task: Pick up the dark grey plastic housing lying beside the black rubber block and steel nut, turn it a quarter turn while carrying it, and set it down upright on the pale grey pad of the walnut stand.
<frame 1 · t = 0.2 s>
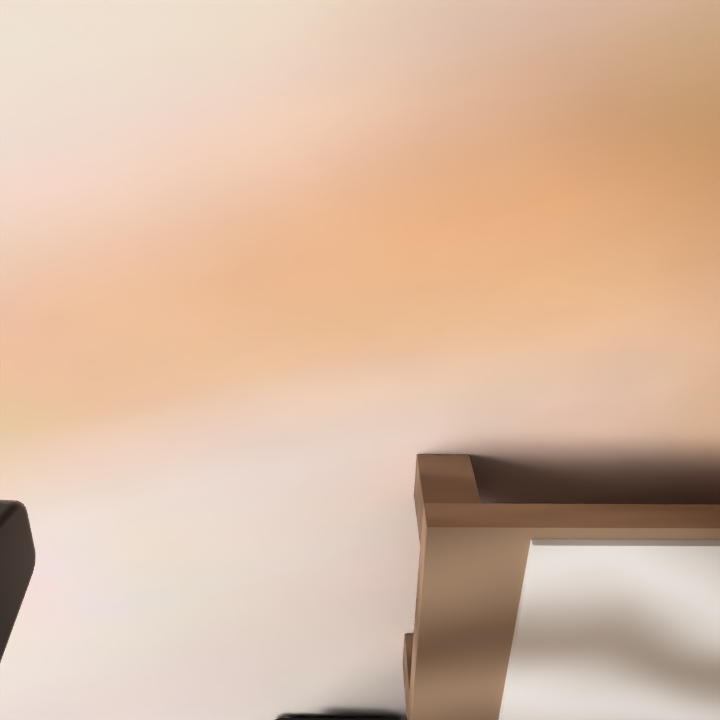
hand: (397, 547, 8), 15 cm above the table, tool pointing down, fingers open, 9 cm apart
walnut stand: (596, 570, 28), on the table
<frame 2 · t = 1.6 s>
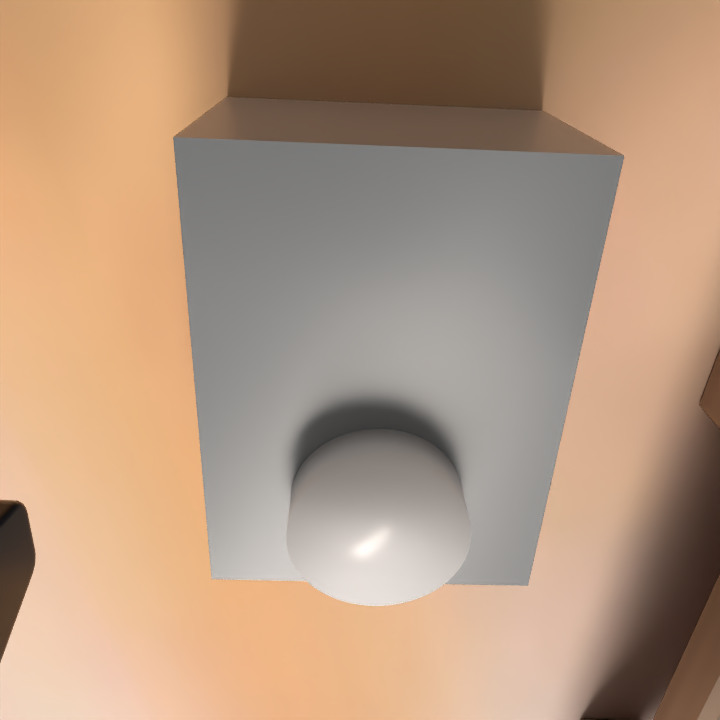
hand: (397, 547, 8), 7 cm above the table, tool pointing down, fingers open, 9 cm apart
housing: (374, 295, 15), on the table
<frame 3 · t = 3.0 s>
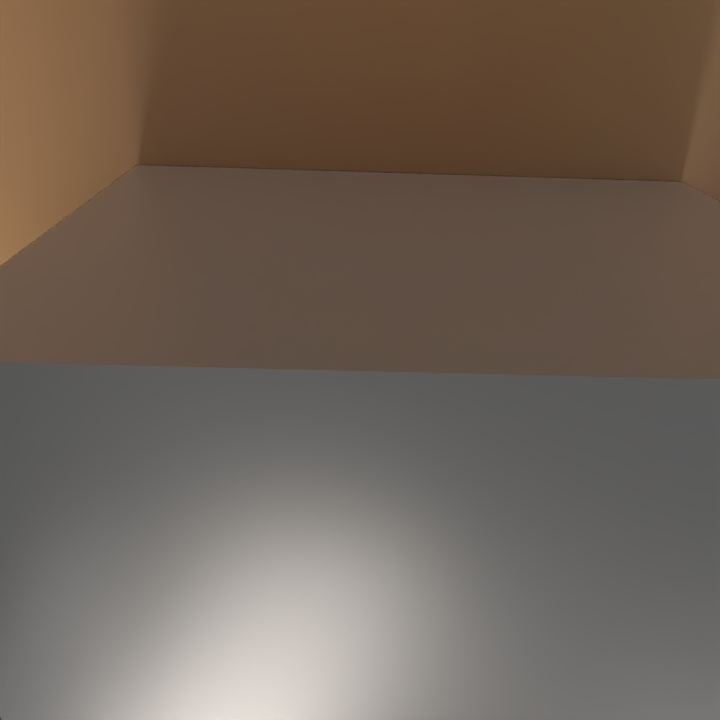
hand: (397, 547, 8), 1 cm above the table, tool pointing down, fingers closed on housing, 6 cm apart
housing: (392, 467, 9), on the table, touching gripper
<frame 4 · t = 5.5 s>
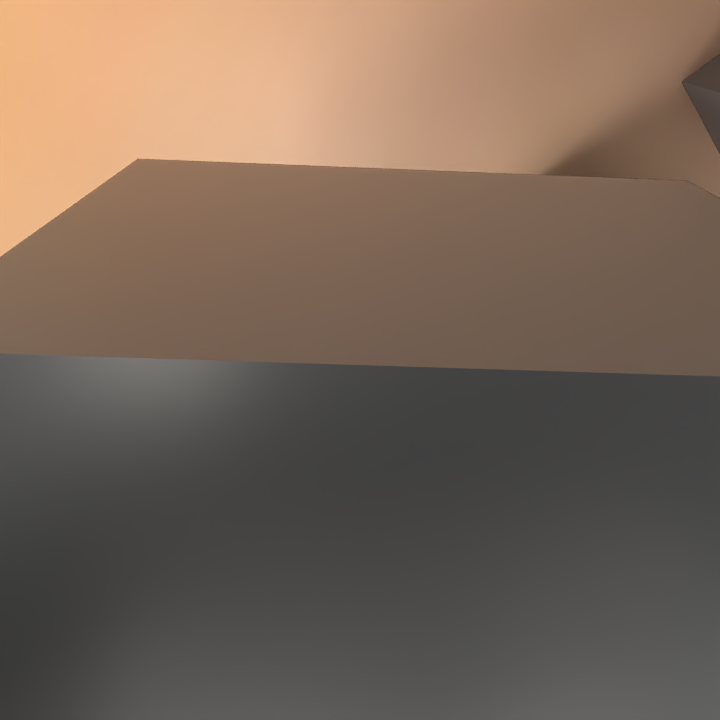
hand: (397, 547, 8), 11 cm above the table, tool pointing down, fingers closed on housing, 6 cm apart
housing: (391, 465, 9), point 10 cm above the table, touching gripper
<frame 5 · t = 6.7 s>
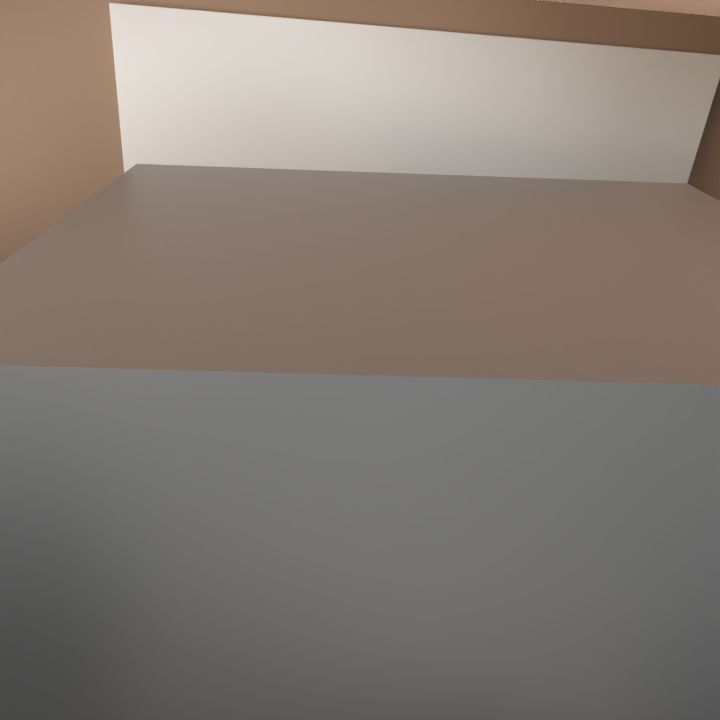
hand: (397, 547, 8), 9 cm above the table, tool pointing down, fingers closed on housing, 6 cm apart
housing: (392, 469, 9), point 8 cm above the table, touching gripper
walnut stand: (379, 277, 16), on the table
when the fingers open (7 cm above the table, at t = 7.8 s): housing drops 2 cm, resting on walnut stand.
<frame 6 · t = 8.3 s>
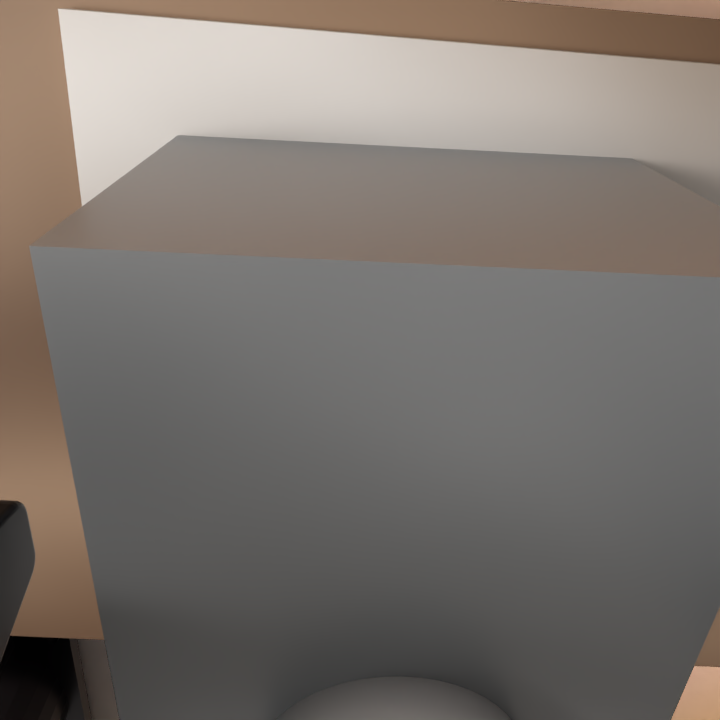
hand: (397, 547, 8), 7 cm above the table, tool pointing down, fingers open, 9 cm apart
housing: (386, 404, 11), point 4 cm above the table, touching walnut stand
walnut stand: (378, 309, 15), on the table
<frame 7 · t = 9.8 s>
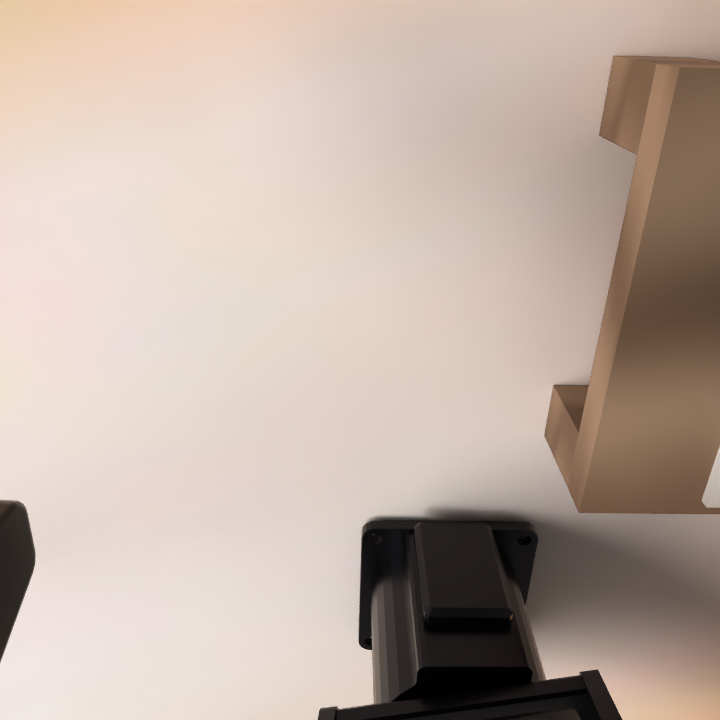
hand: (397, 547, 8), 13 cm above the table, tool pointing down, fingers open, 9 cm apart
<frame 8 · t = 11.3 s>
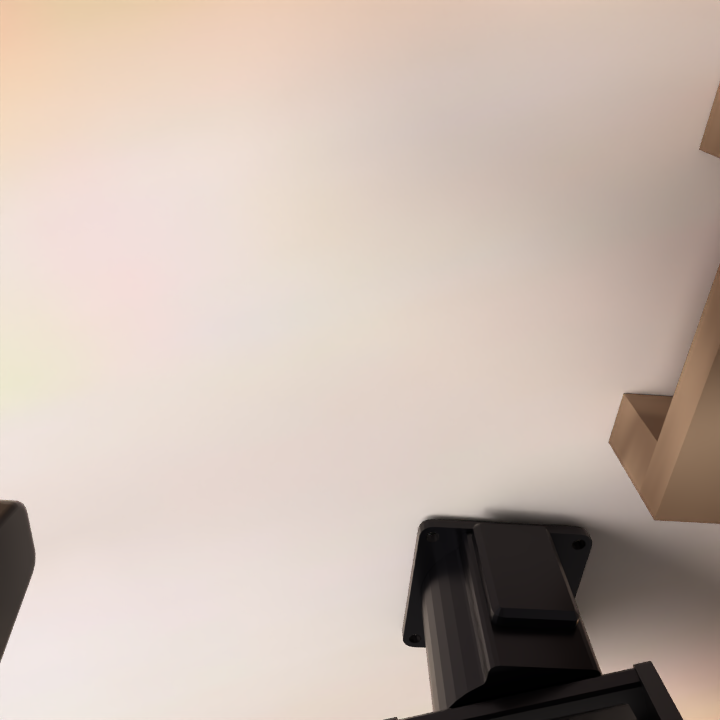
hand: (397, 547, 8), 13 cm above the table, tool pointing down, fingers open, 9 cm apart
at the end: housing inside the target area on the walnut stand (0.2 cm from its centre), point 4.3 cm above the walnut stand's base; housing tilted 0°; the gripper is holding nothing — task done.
